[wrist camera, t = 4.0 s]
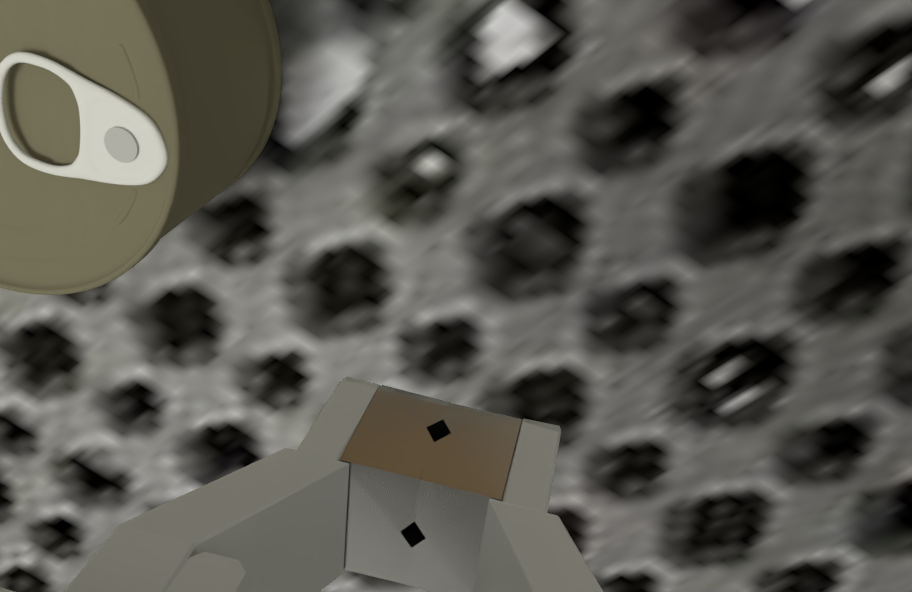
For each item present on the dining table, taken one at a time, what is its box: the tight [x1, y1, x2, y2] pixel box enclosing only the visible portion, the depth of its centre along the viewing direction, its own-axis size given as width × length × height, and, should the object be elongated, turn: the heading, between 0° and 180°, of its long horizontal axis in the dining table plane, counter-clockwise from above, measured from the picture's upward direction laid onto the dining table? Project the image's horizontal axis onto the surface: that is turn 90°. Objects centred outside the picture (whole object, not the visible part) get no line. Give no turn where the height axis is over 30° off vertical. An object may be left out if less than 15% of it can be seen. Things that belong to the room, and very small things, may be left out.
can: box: [0, 0, 282, 295], centre depth 23 cm, size 12×12×7 cm
